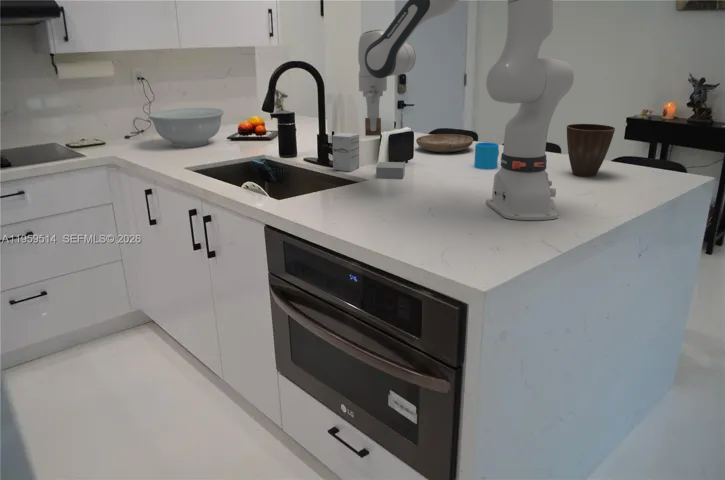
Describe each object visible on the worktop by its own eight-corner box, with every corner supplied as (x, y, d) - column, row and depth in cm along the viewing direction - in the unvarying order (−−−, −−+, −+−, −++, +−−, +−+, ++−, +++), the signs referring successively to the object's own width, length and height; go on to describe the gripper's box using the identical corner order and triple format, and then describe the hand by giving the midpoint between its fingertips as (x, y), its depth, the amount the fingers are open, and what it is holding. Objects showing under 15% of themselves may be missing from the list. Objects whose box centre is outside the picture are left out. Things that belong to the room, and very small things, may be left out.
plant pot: (587, 167, 195) (593, 122, 190) (618, 177, 182) (625, 128, 177) (552, 171, 191) (557, 125, 185) (581, 181, 178) (587, 131, 172)
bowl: (172, 154, 230) (167, 119, 224) (141, 144, 252) (136, 112, 247) (239, 144, 250) (236, 111, 245) (205, 136, 272) (202, 106, 267)
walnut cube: (381, 135, 176) (380, 119, 174) (365, 135, 176) (365, 119, 174) (380, 133, 181) (380, 117, 179) (365, 133, 181) (365, 117, 179)
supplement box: (332, 170, 198) (331, 135, 193) (342, 166, 204) (341, 132, 200) (350, 172, 195) (349, 136, 190) (360, 168, 201) (359, 133, 196)
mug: (489, 170, 194) (490, 147, 191) (469, 167, 200) (471, 144, 197) (506, 164, 202) (508, 142, 199) (487, 161, 208) (489, 140, 205)
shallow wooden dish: (422, 144, 244) (422, 132, 243) (475, 146, 237) (476, 134, 236) (410, 154, 224) (410, 142, 222) (468, 157, 217) (469, 144, 215)
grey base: (402, 179, 184) (402, 168, 183) (376, 179, 186) (376, 167, 184) (404, 173, 193) (404, 162, 191) (379, 172, 194) (379, 161, 193)
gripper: (383, 87, 163) (383, 134, 168) (382, 82, 183) (382, 124, 187) (362, 87, 163) (363, 134, 168) (363, 83, 183) (364, 125, 187)
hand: (373, 129), depth 178 cm, fingers closed on walnut cube, 5 cm apart
